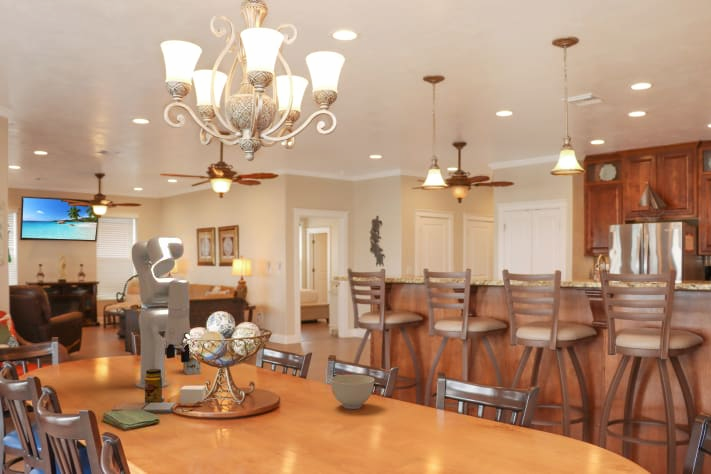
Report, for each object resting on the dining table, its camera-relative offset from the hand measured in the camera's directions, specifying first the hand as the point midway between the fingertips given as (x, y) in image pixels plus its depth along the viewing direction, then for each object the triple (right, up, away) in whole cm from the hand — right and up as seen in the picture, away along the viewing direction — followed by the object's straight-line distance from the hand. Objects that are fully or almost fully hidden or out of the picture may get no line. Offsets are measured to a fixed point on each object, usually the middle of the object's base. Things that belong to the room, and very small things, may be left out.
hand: (177, 359), depth 235 cm
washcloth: (-8, -16, -25) cm, 31 cm away
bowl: (+64, -17, -3) cm, 66 cm away
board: (-9, -16, -10) cm, 20 cm away
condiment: (-9, -16, +1) cm, 18 cm away
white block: (+6, -16, -1) cm, 17 cm away
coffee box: (-9, -17, +55) cm, 58 cm away
